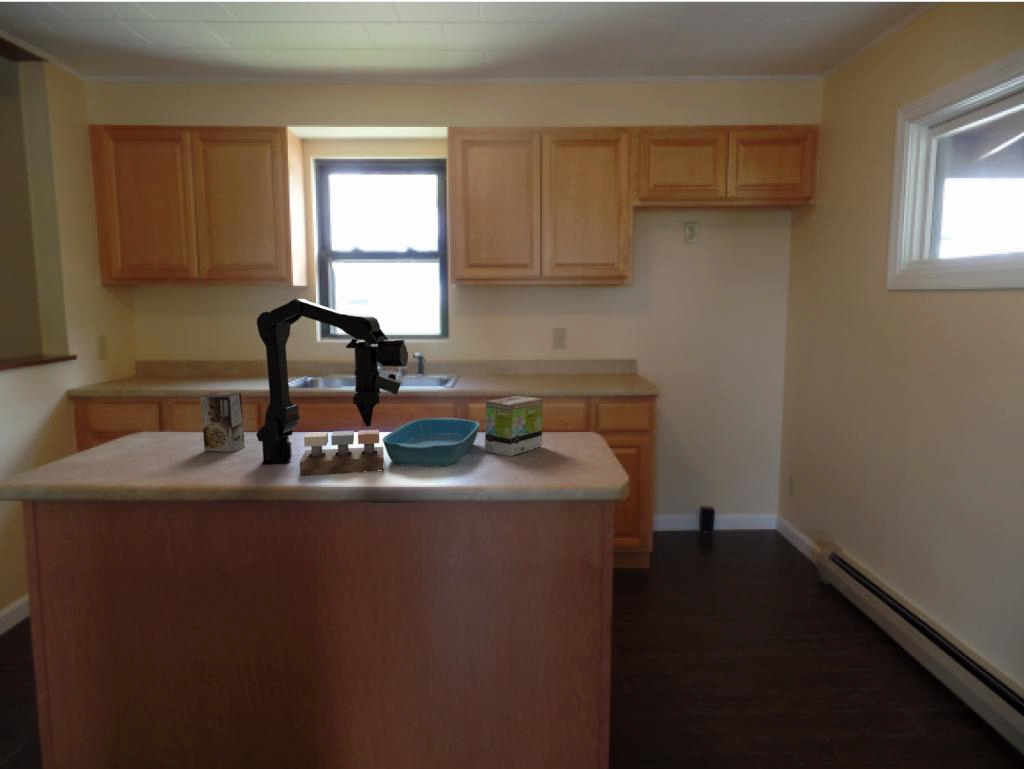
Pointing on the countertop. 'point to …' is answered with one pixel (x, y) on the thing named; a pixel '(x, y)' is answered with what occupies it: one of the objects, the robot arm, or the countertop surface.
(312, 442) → the cream key
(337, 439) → the slate key
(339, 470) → the key block
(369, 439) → the terracotta key
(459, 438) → the casserole dish
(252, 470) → the countertop surface
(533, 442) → the tea box
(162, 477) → the countertop surface
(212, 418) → the coffee box
